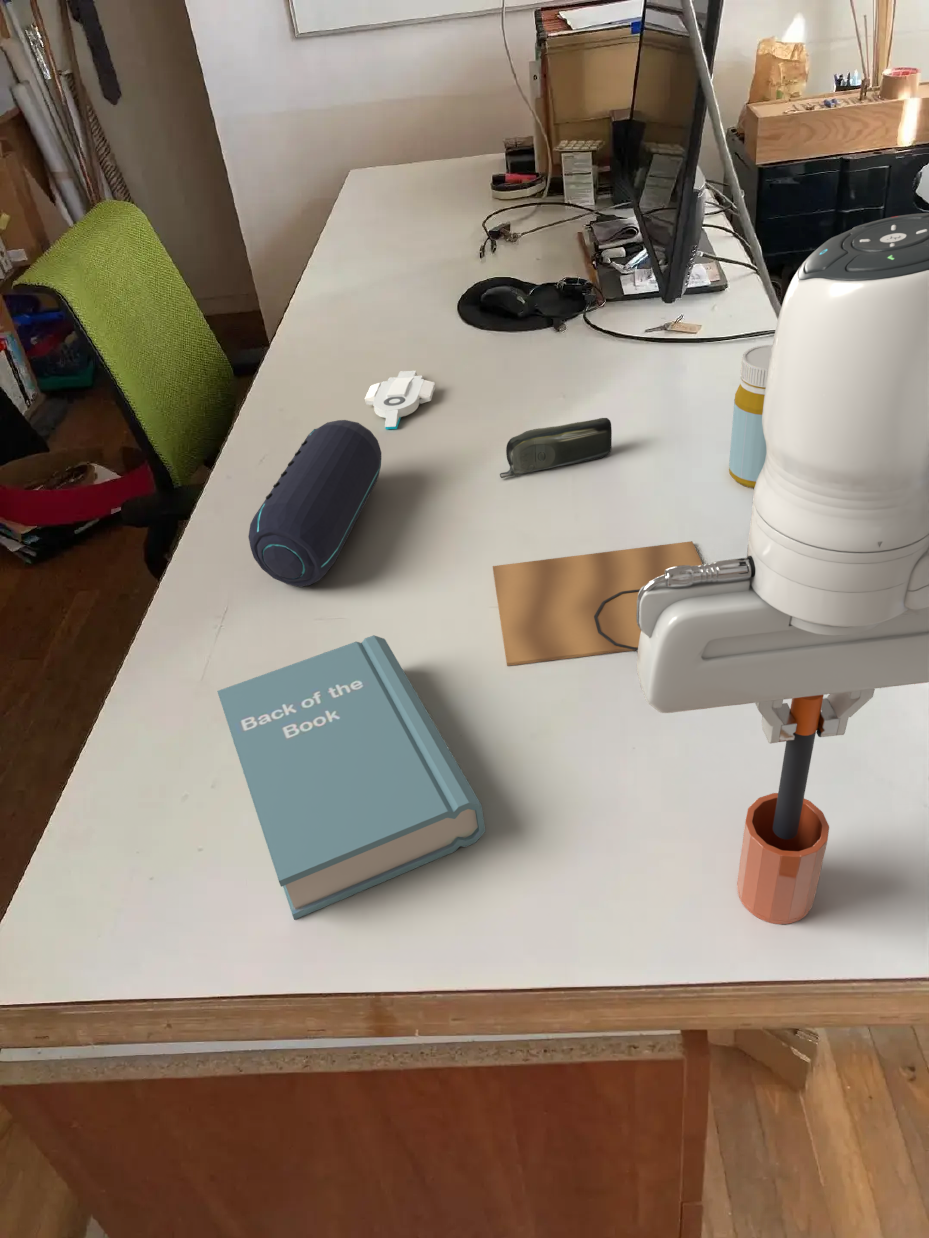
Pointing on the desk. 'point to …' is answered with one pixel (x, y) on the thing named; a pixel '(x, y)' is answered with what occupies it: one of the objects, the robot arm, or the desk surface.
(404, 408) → the toy rocket
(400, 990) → the desk surface
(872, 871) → the desk surface
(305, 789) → the book
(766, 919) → the pen cup
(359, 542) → the desk surface
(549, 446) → the mobile phone
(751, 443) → the bottle
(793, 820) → the marker
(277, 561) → the portable speaker
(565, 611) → the paper mat
